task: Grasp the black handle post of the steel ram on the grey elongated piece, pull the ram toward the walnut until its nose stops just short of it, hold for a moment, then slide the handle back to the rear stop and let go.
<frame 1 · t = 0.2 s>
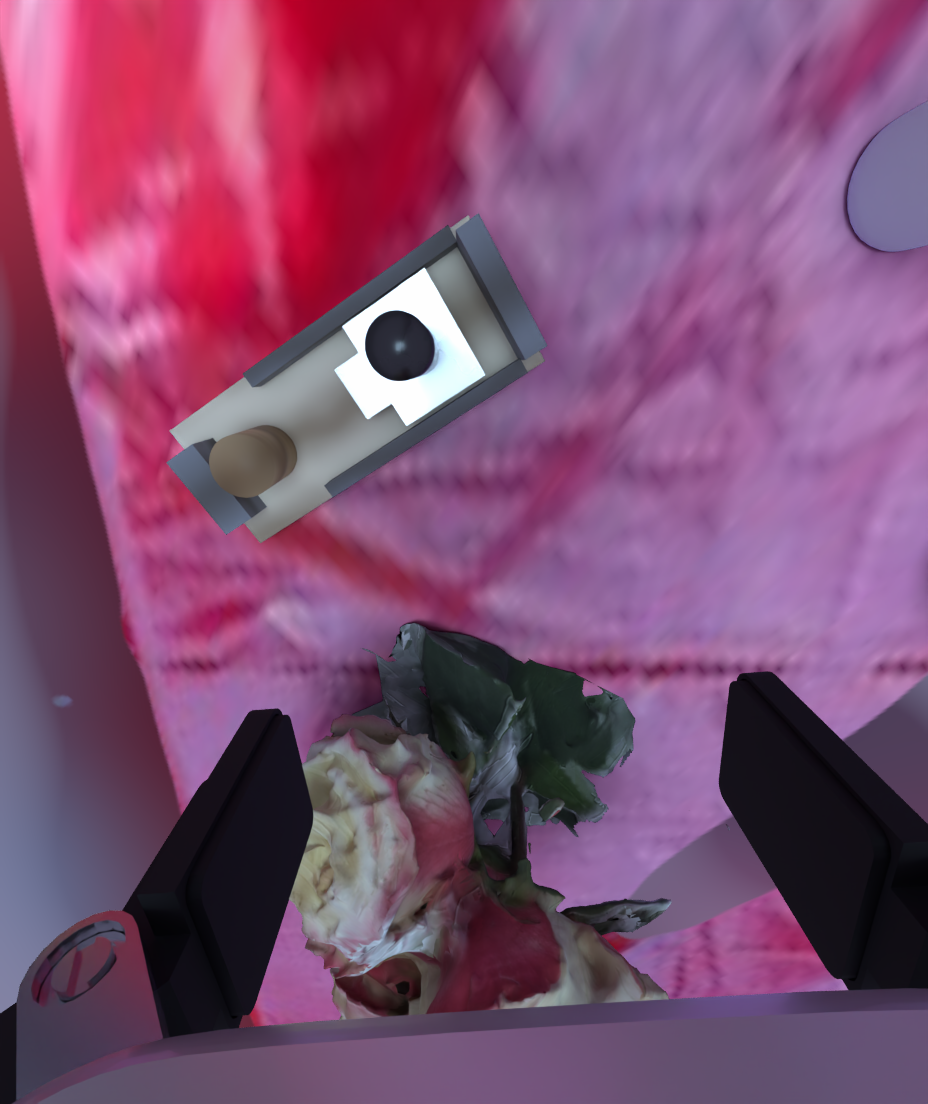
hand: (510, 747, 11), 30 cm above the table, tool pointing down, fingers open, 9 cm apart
grey elongated piece: (358, 395, 37), on the table
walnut: (269, 453, 36), point 2 cm above the table, touching grey elongated piece
rose bouquet: (460, 753, 49), on the table
milk bottle: (900, 187, 33), on the table
ram: (395, 359, 29), point 8 cm above the table, slide at 2.0 cm
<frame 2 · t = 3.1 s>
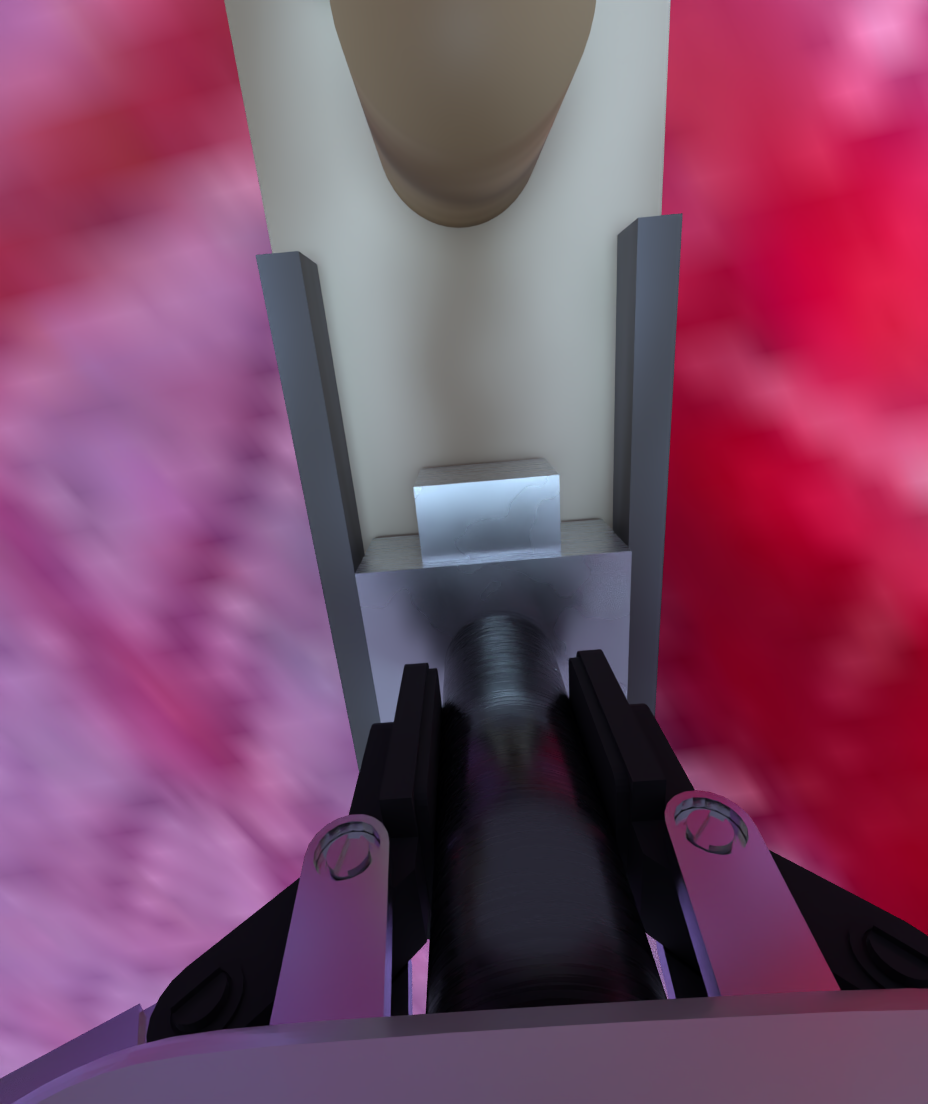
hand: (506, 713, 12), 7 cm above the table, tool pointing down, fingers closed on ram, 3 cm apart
grey elongated piece: (478, 435, 17), on the table
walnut: (458, 131, 12), point 2 cm above the table, touching grey elongated piece
ram: (507, 705, 10), point 8 cm above the table, slide at 2.0 cm, touching gripper
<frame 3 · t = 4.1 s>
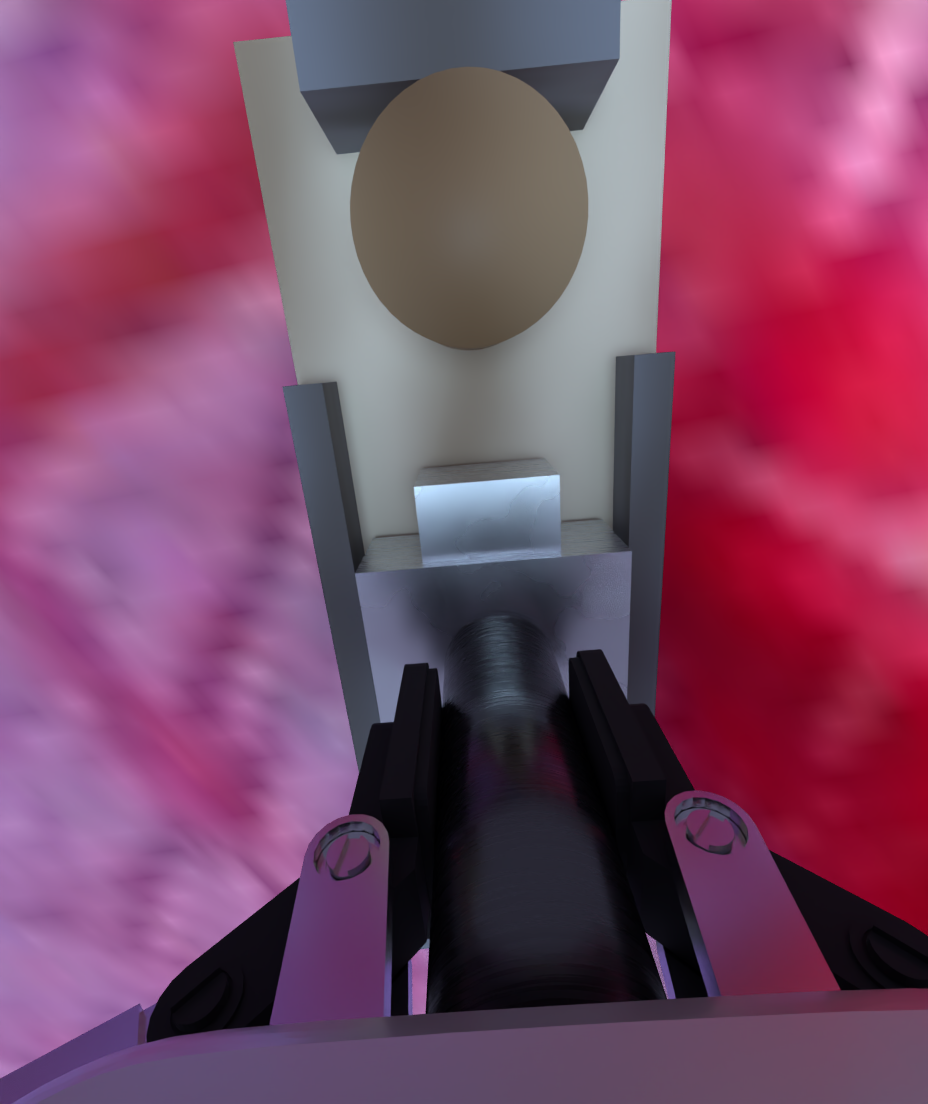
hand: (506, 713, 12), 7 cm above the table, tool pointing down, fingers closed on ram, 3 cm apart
grey elongated piece: (484, 520, 18), on the table
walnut: (468, 267, 13), point 2 cm above the table, touching grey elongated piece
ram: (507, 705, 10), point 8 cm above the table, slide at 4.9 cm, touching gripper
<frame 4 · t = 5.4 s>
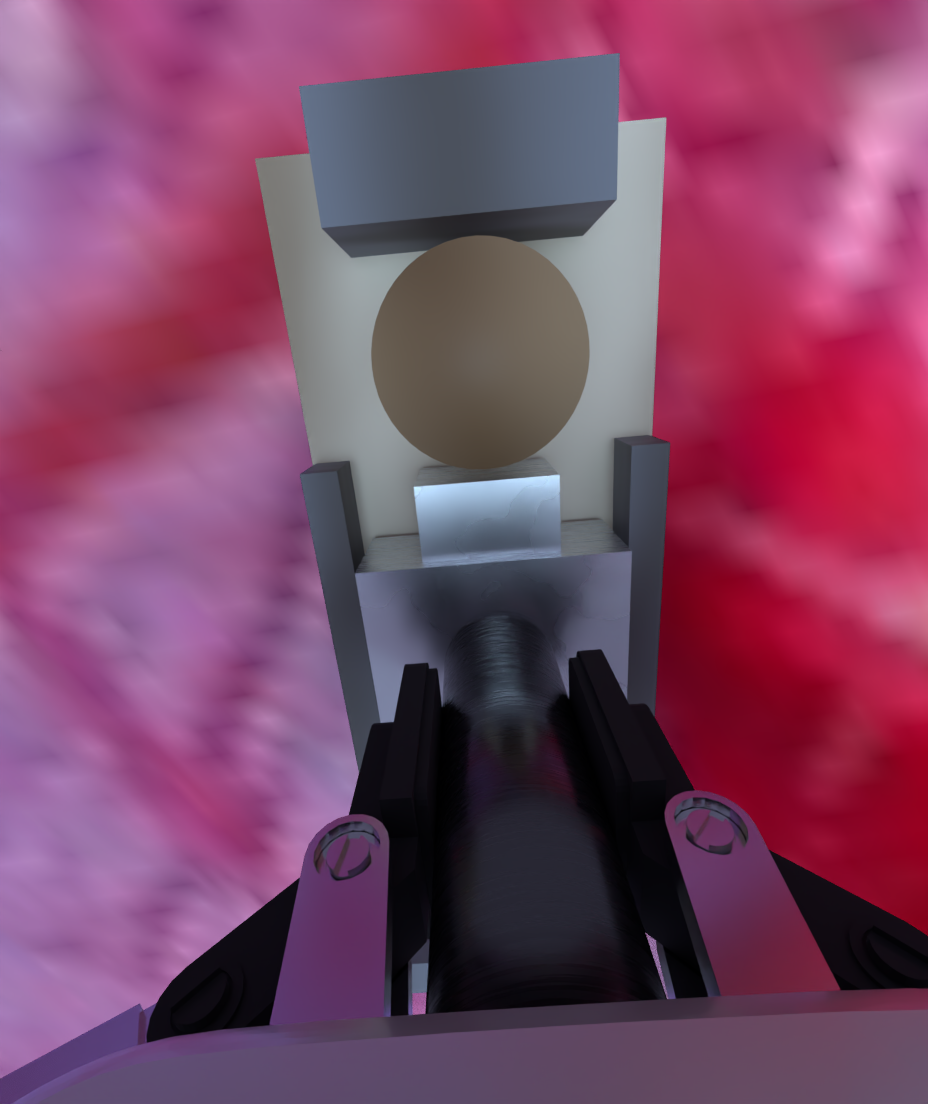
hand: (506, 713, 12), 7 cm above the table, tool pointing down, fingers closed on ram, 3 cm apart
grey elongated piece: (488, 578, 18), on the table
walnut: (475, 358, 14), point 2 cm above the table, touching grey elongated piece
ram: (507, 705, 10), point 8 cm above the table, slide at 7.1 cm, touching gripper
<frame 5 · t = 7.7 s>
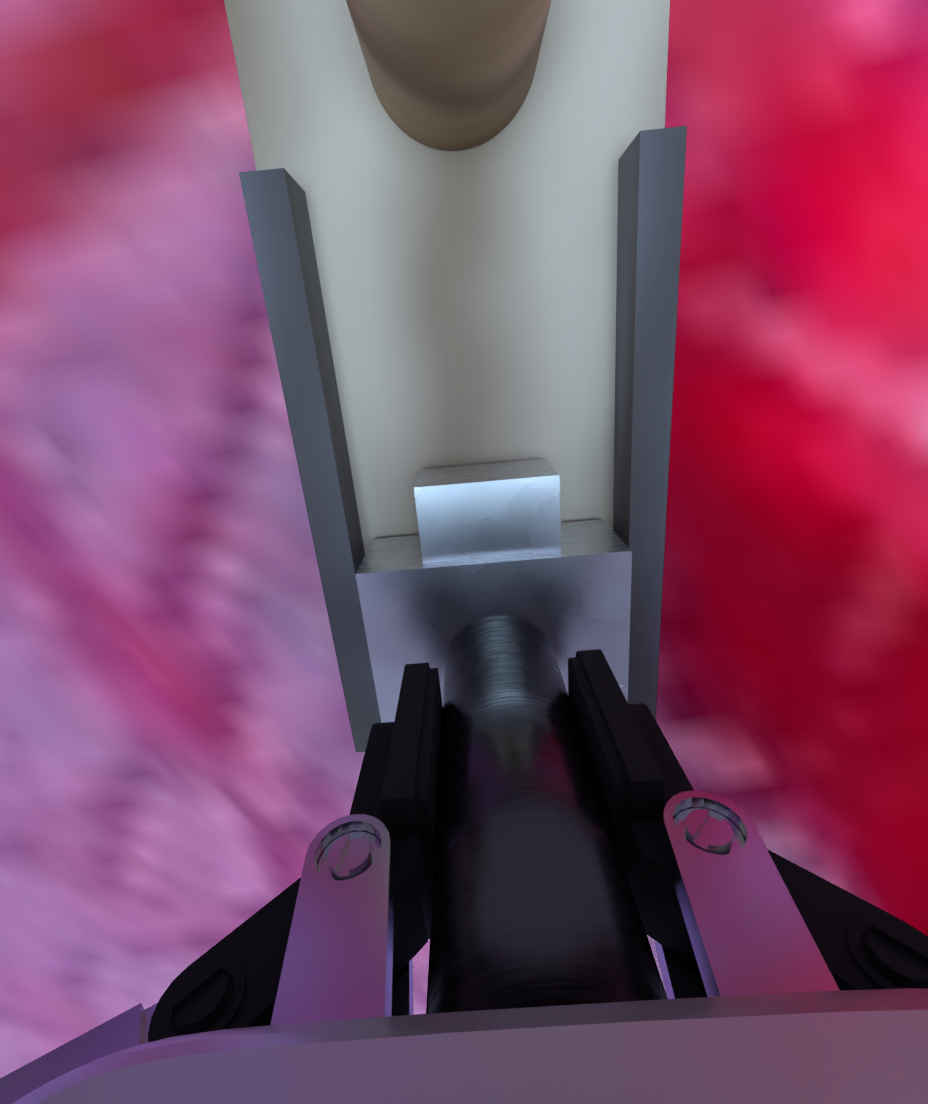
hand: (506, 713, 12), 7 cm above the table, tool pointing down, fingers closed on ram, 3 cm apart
grey elongated piece: (474, 384, 16), on the table
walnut: (451, 45, 12), point 2 cm above the table, touching grey elongated piece
ram: (508, 706, 10), point 8 cm above the table, slide at 0.4 cm, touching gripper
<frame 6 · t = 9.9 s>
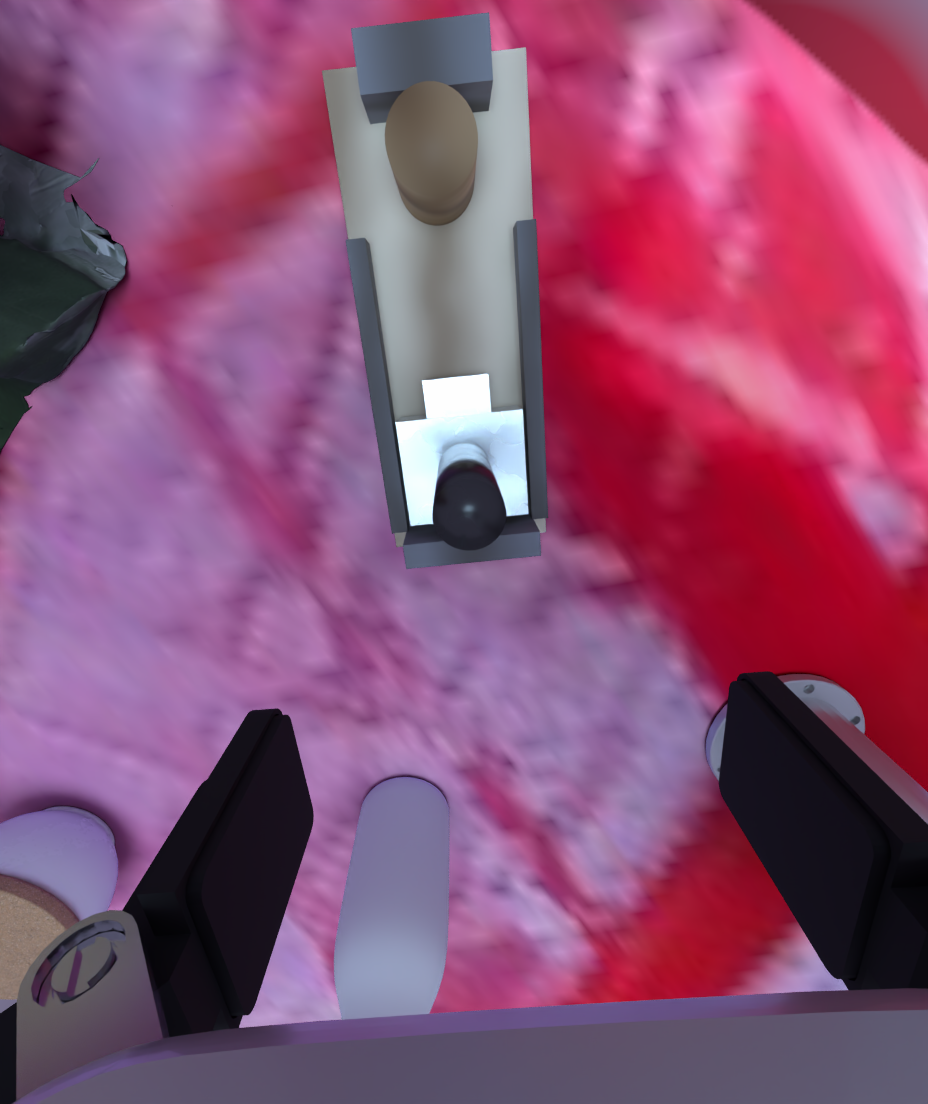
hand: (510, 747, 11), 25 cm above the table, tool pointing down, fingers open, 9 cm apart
lidded bowl: (74, 834, 45), on the table
grey elongated piece: (451, 337, 31), on the table
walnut: (436, 181, 26), point 2 cm above the table, touching grey elongated piece
milk bottle: (406, 805, 45), on the table
ram: (463, 463, 25), point 8 cm above the table, slide at 0.3 cm
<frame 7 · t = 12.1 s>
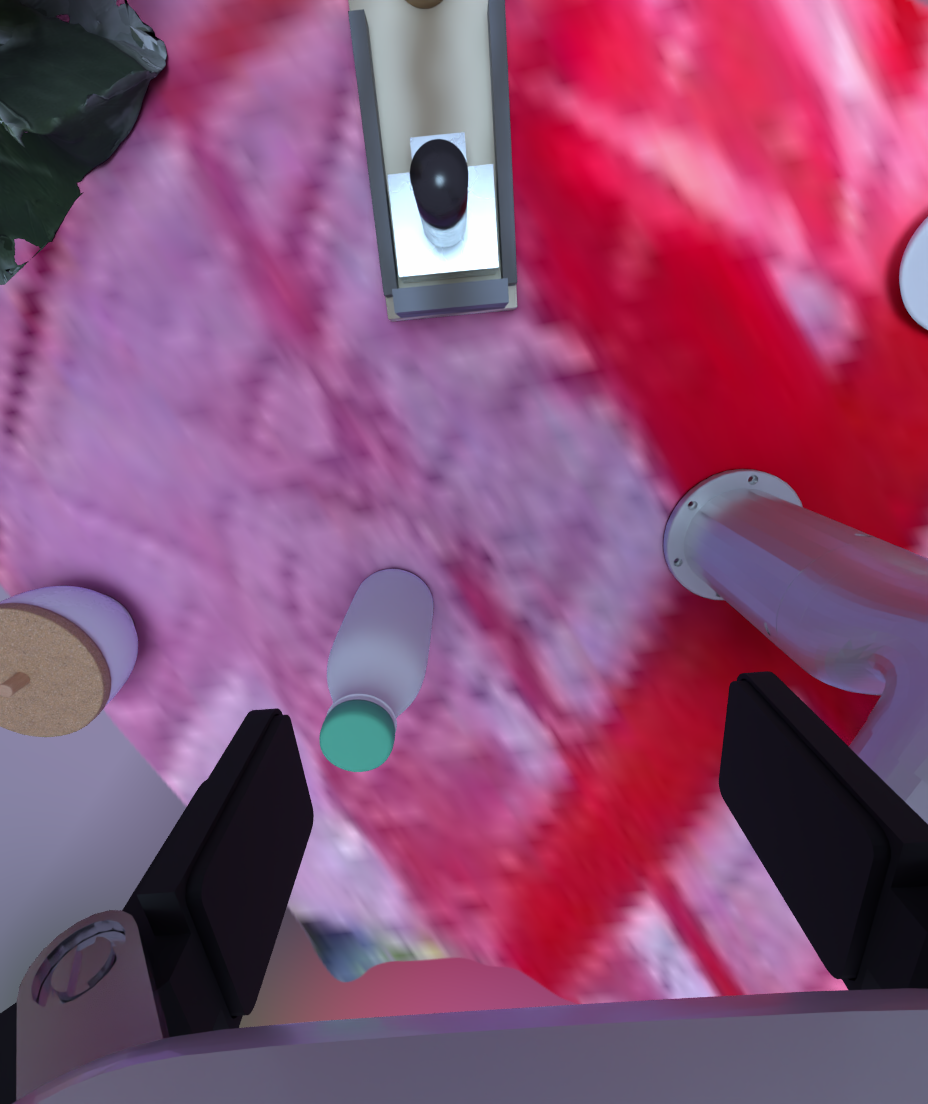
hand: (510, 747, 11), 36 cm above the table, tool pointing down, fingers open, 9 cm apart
lidded bowl: (99, 623, 51), on the table
grey elongated piece: (436, 126, 36), on the table
milk bottle: (395, 601, 50), on the table
ram: (441, 189, 31), point 8 cm above the table, slide at 0.3 cm
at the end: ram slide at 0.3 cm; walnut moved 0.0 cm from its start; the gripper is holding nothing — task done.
